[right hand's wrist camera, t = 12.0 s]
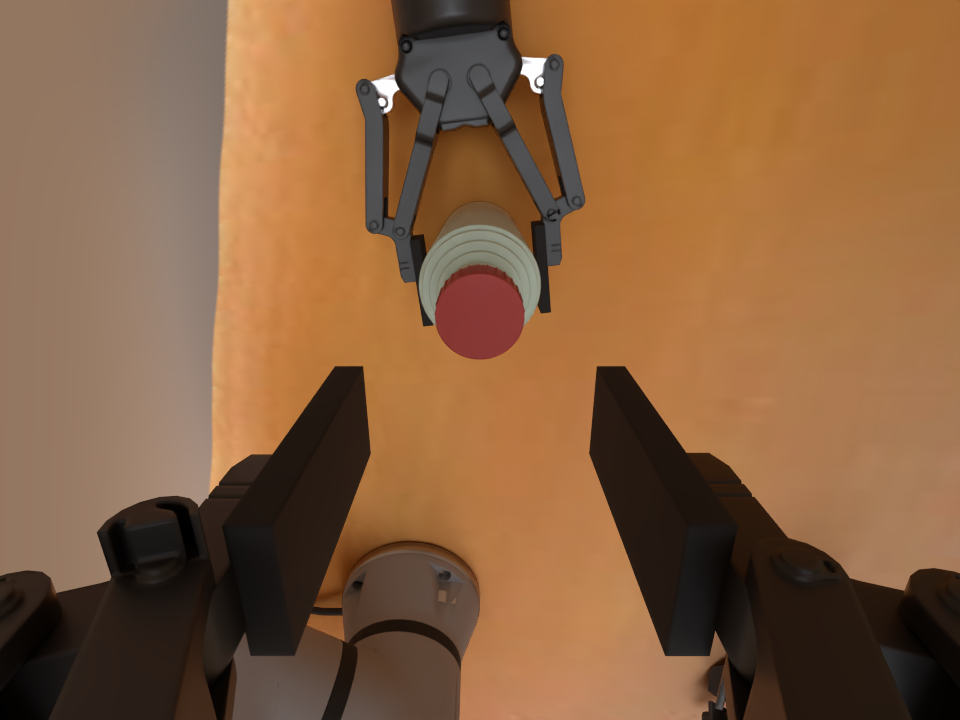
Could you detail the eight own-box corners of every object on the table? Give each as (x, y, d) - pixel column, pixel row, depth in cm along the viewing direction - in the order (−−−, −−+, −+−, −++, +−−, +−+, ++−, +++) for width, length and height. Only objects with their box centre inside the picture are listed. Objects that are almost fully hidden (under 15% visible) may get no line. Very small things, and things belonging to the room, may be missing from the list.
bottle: (494, 294, 46) (507, 407, 25) (427, 257, 45) (380, 343, 24) (533, 226, 44) (583, 286, 23) (464, 186, 43) (448, 209, 22)
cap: (495, 359, 26) (497, 375, 24) (422, 321, 25) (417, 335, 23) (538, 289, 25) (543, 300, 23) (462, 247, 24) (460, 255, 22)
